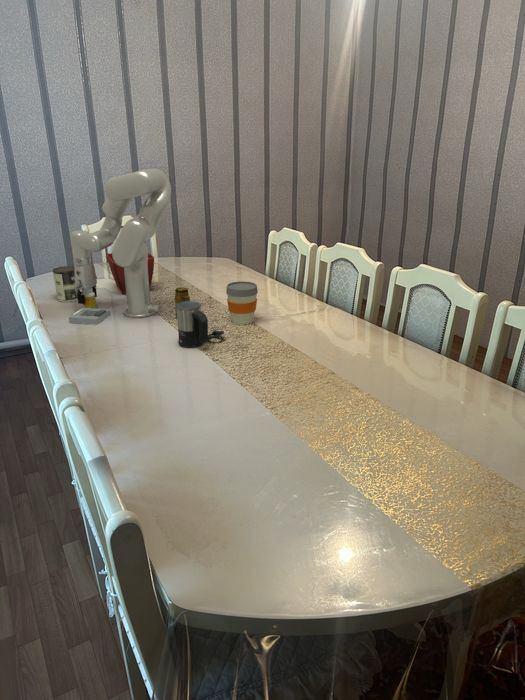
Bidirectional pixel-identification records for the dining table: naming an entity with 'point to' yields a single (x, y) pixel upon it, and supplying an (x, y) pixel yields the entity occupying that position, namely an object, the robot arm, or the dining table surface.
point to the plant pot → (119, 272)
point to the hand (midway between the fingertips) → (87, 300)
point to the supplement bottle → (89, 299)
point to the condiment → (181, 297)
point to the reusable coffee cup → (242, 301)
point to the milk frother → (193, 325)
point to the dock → (89, 315)
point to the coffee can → (65, 283)
